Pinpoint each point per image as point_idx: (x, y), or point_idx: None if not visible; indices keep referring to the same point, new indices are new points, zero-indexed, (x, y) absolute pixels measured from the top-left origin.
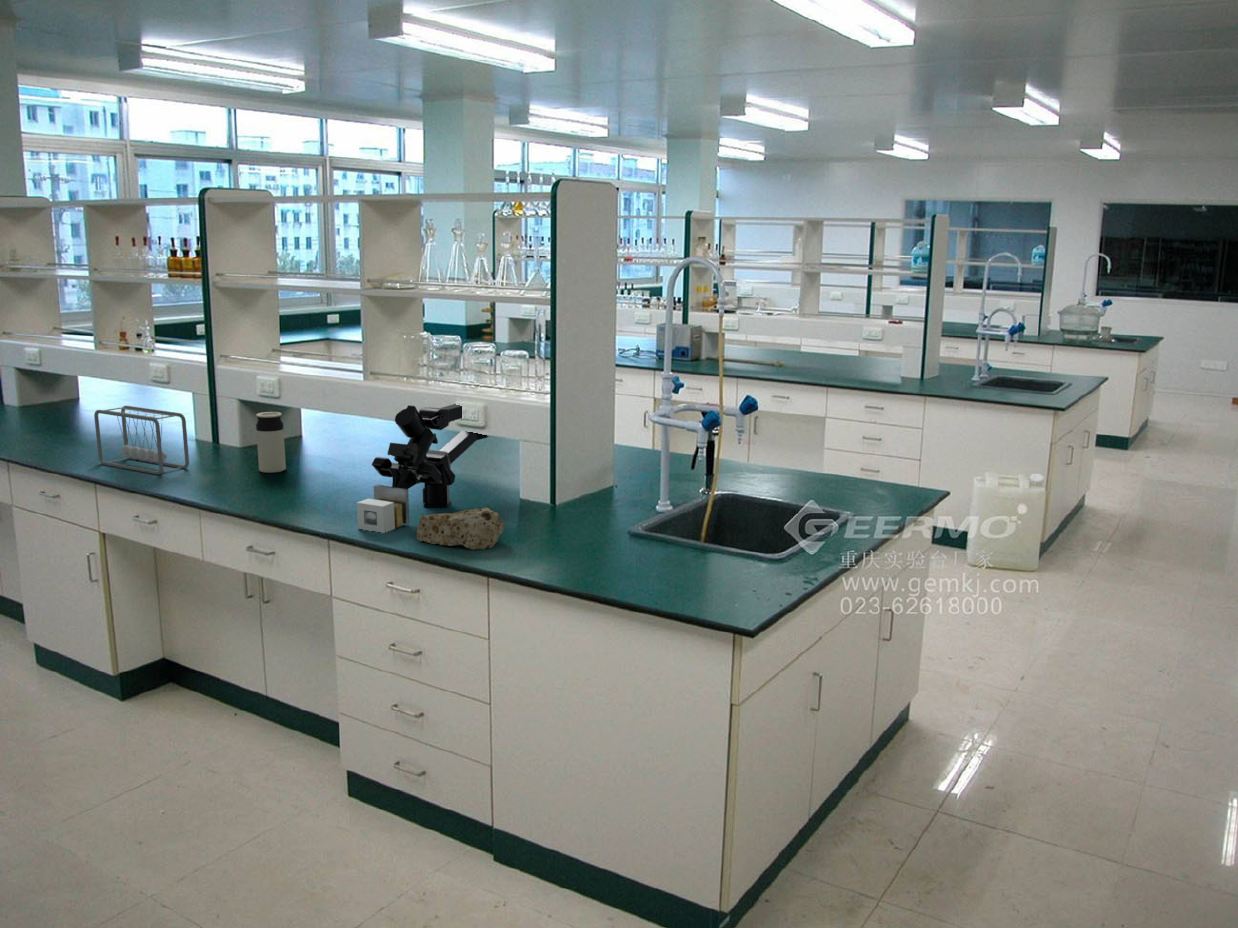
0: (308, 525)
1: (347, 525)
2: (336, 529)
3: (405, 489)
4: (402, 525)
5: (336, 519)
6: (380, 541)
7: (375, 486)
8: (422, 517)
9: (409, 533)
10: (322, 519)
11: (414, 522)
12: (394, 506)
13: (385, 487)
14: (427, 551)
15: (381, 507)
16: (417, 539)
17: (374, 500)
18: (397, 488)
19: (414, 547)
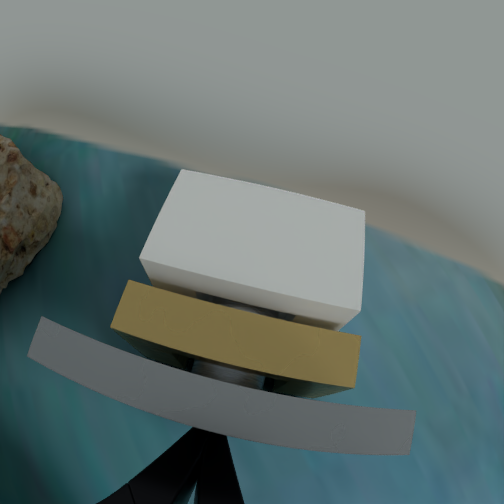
0: (478, 281)
1: (388, 319)
2: (390, 263)
3: (44, 339)
4: (146, 356)
5: (459, 375)
6: (176, 176)
7: (394, 410)
8: (17, 150)
9: (97, 272)
10: (488, 355)
11: (120, 434)
12: (148, 288)
13: (273, 394)
14: (46, 146)
15: (190, 175)
16: (62, 197)
17: (293, 273)
18: (122, 366)
19: (72, 159)
